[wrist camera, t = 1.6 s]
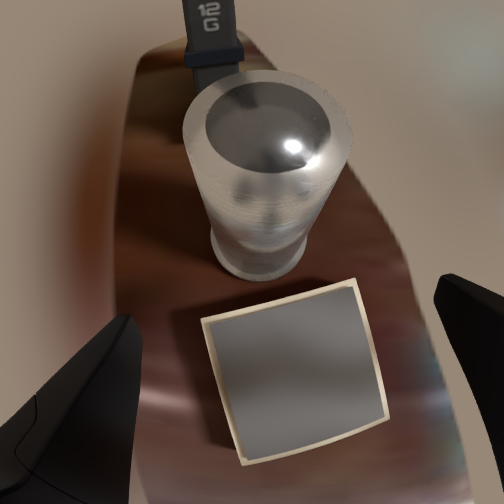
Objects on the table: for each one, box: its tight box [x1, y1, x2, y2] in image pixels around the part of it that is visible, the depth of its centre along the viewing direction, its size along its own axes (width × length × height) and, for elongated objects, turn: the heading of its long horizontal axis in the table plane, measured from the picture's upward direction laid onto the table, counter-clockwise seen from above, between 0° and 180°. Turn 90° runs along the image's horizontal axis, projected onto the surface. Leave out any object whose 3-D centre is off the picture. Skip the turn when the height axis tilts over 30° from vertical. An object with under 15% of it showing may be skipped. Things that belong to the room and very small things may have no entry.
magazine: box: [182, 0, 244, 97], centre depth 20 cm, size 4×13×15 cm, turn 8°
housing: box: [183, 70, 352, 283], centre depth 16 cm, size 7×7×12 cm
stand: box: [201, 278, 390, 466], centre depth 17 cm, size 10×10×3 cm
